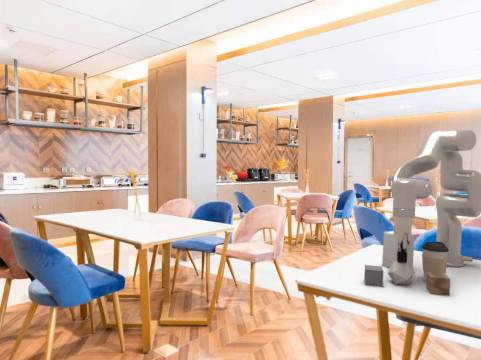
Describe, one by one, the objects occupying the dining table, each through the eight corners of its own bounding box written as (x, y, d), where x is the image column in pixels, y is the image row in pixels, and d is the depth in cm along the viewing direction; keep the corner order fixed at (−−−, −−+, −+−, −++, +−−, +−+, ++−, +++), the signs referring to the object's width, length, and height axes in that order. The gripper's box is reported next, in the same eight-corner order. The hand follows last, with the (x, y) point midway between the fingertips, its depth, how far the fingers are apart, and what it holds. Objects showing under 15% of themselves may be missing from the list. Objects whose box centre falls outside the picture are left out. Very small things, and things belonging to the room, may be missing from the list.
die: (411, 290, 128) (422, 267, 131) (389, 277, 130) (400, 254, 132) (401, 290, 136) (411, 268, 139) (380, 278, 137) (391, 256, 140)
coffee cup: (437, 287, 131) (439, 246, 130) (415, 279, 139) (416, 241, 138) (452, 283, 135) (454, 244, 134) (430, 276, 143) (431, 239, 142)
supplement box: (398, 271, 149) (399, 235, 148) (381, 265, 157) (382, 231, 156) (413, 268, 153) (415, 234, 152) (396, 263, 161) (398, 230, 160)
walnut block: (444, 290, 128) (445, 273, 127) (449, 296, 122) (450, 278, 122) (425, 288, 129) (426, 272, 129) (429, 294, 124) (430, 277, 123)
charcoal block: (381, 282, 135) (381, 266, 135) (382, 287, 130) (383, 271, 129) (364, 280, 137) (364, 264, 137) (365, 285, 131) (365, 269, 131)
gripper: (390, 209, 141) (388, 255, 142) (395, 215, 127) (393, 266, 128) (410, 210, 139) (409, 257, 140) (419, 216, 125) (416, 268, 126)
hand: (401, 261), depth 134 cm, fingers closed
